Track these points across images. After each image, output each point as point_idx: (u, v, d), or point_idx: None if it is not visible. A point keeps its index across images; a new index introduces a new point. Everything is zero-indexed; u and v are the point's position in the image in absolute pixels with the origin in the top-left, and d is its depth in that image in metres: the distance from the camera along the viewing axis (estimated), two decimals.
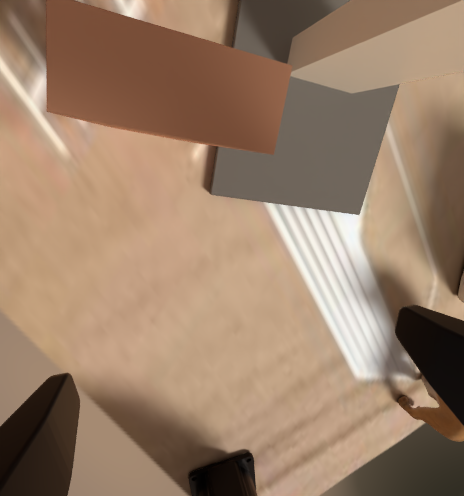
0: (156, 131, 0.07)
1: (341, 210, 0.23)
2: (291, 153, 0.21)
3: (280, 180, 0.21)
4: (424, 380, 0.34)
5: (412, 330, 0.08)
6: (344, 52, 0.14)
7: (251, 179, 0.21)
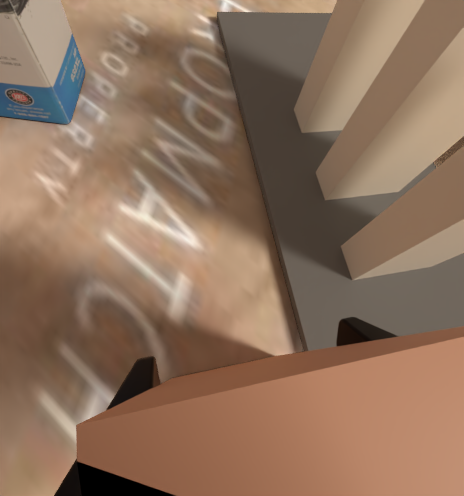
0: None
1: None
2: None
3: None
4: None
5: None
6: (436, 236, 0.11)
7: None
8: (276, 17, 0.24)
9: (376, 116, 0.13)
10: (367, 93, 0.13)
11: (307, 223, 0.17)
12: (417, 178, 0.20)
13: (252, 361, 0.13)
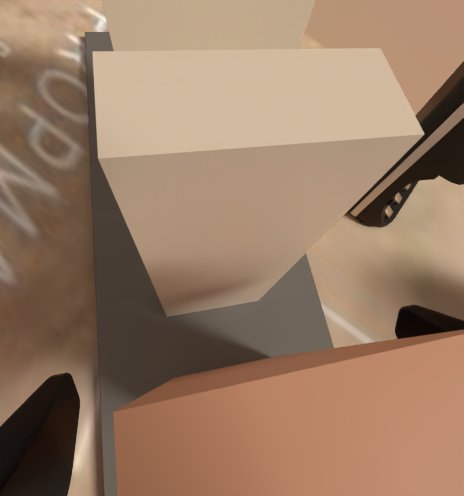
0: None
1: None
2: None
3: None
4: None
5: (412, 330, 0.08)
6: (161, 289, 0.11)
7: None
8: None
9: None
10: None
11: (131, 256, 0.17)
12: None
13: (249, 362, 0.14)
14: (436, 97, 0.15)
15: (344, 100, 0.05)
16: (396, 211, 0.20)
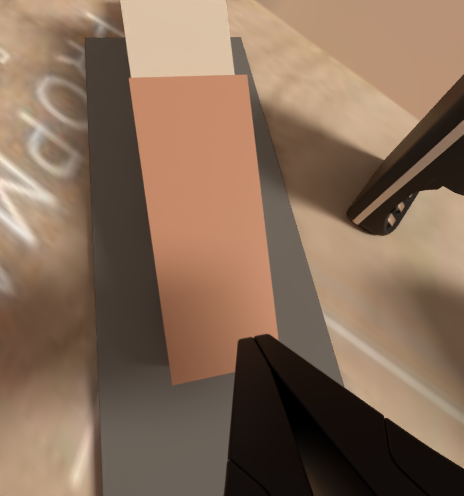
0: (181, 76, 0.13)
1: None
2: (213, 416, 0.15)
3: (211, 464, 0.14)
4: None
5: None
6: None
7: (165, 483, 0.13)
8: None
9: None
10: None
11: (131, 266, 0.17)
12: (266, 214, 0.19)
13: None
14: (440, 106, 0.15)
15: None
16: (399, 219, 0.20)
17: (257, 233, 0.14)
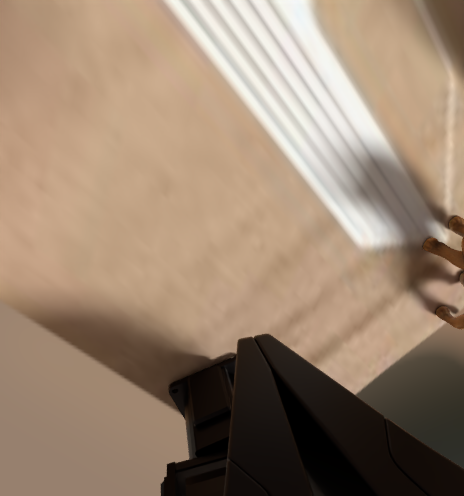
0: None
1: None
2: None
3: None
4: (463, 282, 0.28)
5: None
6: None
7: None
8: None
9: None
10: None
11: None
12: None
13: None
14: None
15: None
16: None
17: None
